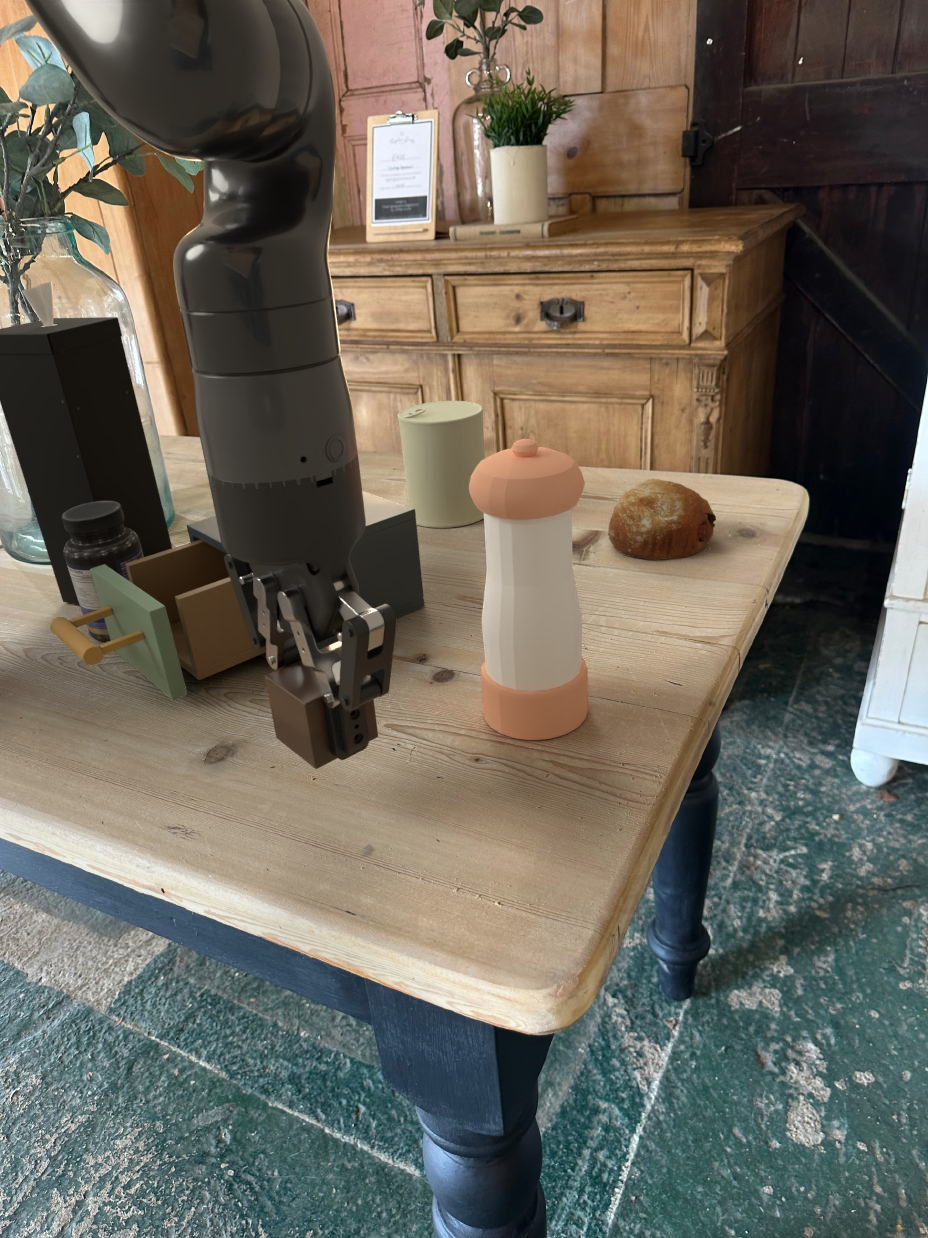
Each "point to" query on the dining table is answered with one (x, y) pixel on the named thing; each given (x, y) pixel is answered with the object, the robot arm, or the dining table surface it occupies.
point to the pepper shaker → (530, 593)
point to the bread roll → (661, 521)
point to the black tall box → (77, 426)
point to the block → (305, 712)
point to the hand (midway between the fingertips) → (326, 733)
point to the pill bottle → (97, 552)
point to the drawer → (166, 617)
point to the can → (442, 460)
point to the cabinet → (369, 556)
